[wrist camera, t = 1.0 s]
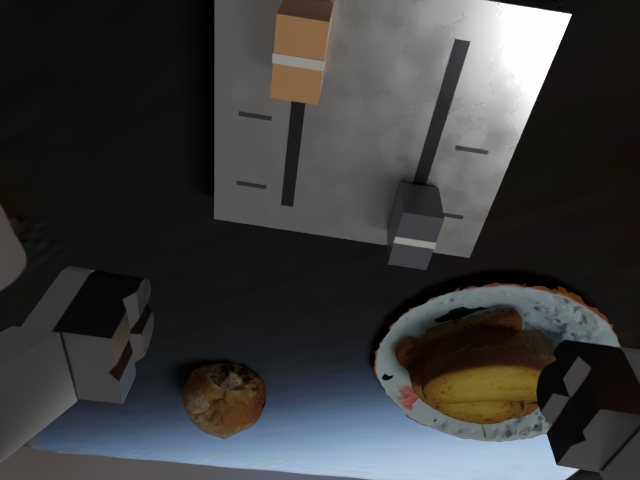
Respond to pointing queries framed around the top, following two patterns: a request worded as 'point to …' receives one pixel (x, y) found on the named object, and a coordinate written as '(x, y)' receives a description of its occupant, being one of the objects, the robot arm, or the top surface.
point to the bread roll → (224, 398)
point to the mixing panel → (378, 113)
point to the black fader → (414, 226)
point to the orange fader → (300, 50)
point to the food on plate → (483, 358)
